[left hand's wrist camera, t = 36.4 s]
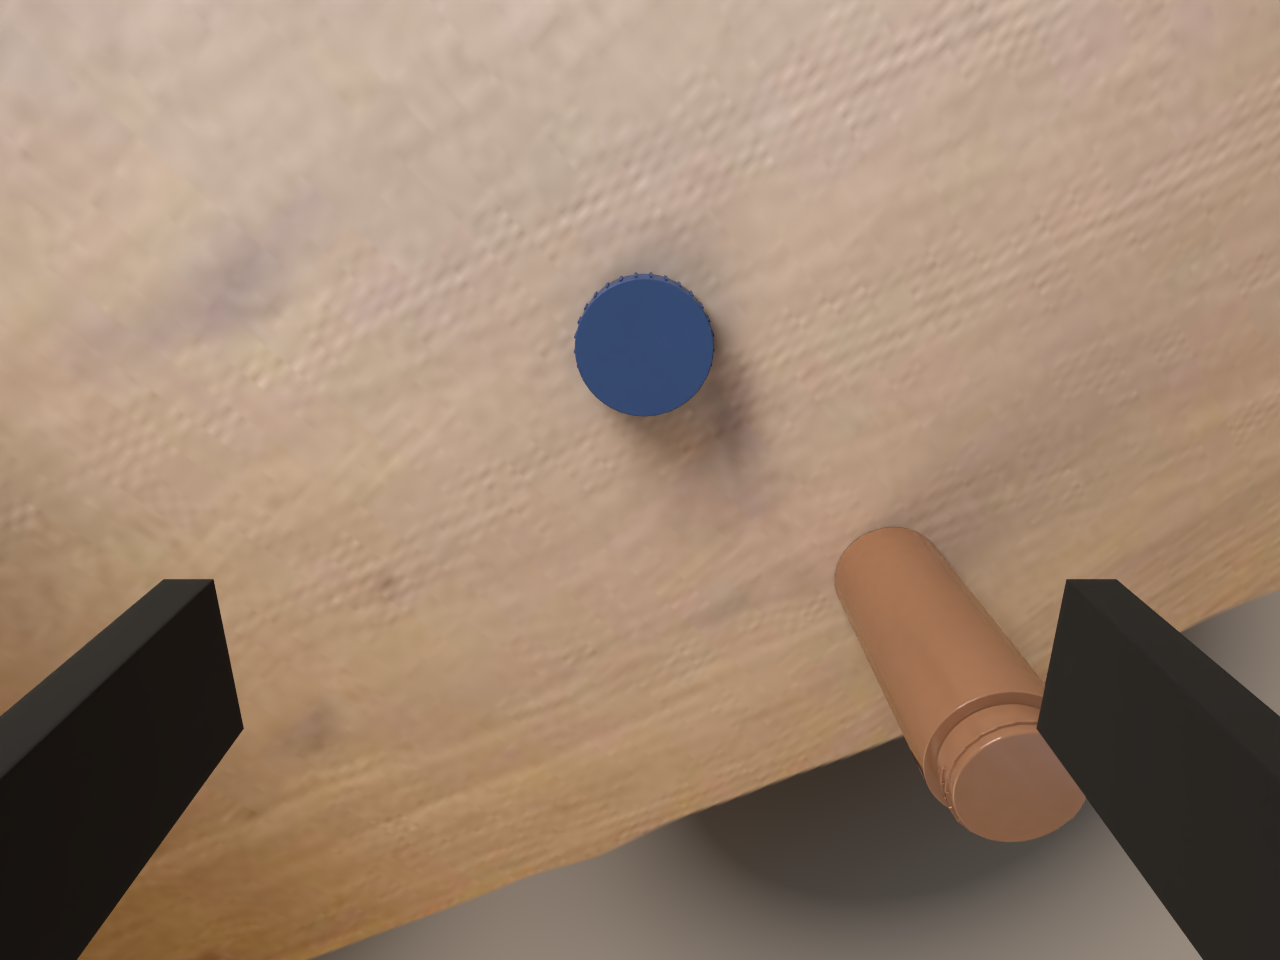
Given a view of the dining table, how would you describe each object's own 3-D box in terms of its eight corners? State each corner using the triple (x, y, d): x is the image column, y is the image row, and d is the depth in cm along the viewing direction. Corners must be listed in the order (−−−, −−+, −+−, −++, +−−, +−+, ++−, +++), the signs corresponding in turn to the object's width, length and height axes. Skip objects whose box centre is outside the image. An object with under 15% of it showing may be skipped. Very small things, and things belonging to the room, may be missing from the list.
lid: (710, 406, 38) (714, 417, 37) (578, 408, 38) (575, 419, 37) (713, 271, 36) (716, 275, 35) (573, 273, 36) (570, 277, 35)
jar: (814, 596, 42) (906, 817, 27) (872, 509, 40) (1003, 695, 26) (902, 639, 43) (1037, 875, 28) (963, 555, 41) (1139, 760, 27)
